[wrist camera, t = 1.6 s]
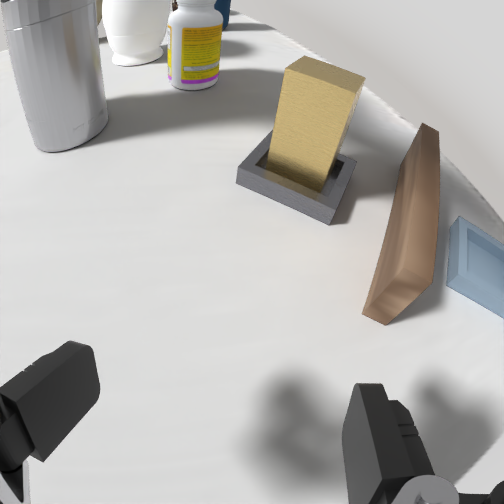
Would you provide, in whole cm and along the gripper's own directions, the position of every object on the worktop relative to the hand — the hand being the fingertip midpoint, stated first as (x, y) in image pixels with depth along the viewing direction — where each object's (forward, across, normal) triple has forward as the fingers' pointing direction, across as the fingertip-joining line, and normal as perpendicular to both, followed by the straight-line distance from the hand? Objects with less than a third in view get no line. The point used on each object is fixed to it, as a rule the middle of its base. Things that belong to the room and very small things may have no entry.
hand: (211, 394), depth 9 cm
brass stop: (+22, -2, -7) cm, 23 cm away
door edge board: (+20, -11, -3) cm, 24 cm away
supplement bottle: (+33, +12, -20) cm, 40 cm away
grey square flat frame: (+22, -2, -7) cm, 23 cm away
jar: (+38, +24, -27) cm, 52 cm away
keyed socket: (+19, -21, 0) cm, 28 cm away
